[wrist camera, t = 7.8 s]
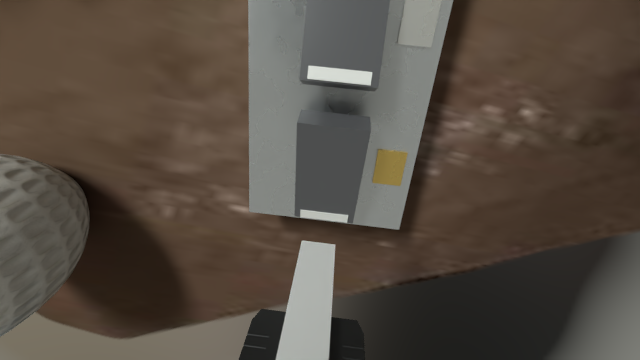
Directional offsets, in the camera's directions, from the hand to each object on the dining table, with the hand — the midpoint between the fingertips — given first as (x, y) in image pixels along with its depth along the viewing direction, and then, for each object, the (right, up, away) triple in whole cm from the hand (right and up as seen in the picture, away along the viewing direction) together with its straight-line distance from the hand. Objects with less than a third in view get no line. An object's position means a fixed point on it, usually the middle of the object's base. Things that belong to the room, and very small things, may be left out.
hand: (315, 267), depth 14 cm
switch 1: (+2, +15, +6) cm, 16 cm away
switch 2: (+1, +5, +10) cm, 11 cm away
